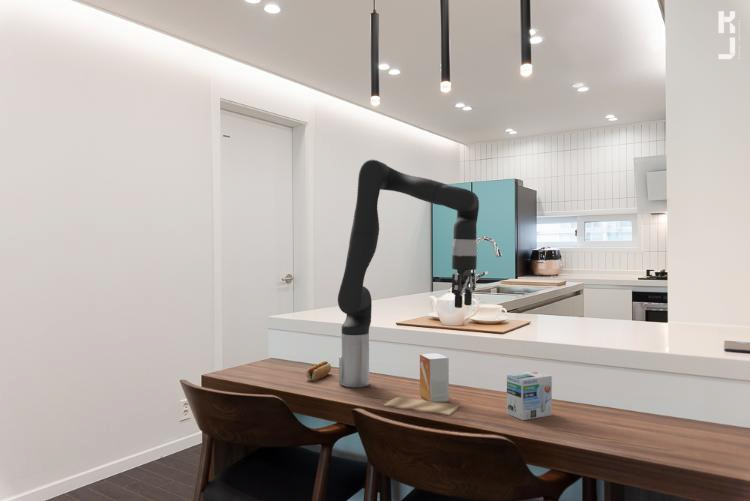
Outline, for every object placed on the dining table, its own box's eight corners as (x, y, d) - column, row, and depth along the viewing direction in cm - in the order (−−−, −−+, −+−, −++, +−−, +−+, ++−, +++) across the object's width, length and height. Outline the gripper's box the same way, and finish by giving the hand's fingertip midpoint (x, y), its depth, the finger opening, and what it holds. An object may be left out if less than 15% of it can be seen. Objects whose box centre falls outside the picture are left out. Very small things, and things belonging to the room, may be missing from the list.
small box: (419, 396, 164) (419, 353, 164) (438, 394, 166) (438, 352, 166) (429, 403, 156) (429, 358, 156) (449, 401, 158) (449, 357, 158)
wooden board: (383, 405, 153) (383, 404, 153) (397, 398, 161) (397, 396, 161) (449, 415, 144) (449, 413, 144) (460, 407, 152) (460, 405, 152)
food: (319, 373, 197) (319, 359, 197) (333, 374, 195) (333, 360, 195) (303, 381, 184) (302, 367, 184) (317, 382, 182) (317, 368, 182)
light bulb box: (523, 421, 139) (522, 380, 139) (505, 414, 145) (505, 374, 145) (553, 415, 144) (552, 375, 144) (535, 408, 150) (534, 370, 150)
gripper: (460, 254, 173) (459, 303, 173) (444, 254, 161) (443, 307, 161) (483, 254, 169) (482, 305, 169) (468, 254, 157) (467, 309, 157)
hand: (463, 306), depth 165 cm, fingers open, 8 cm apart
